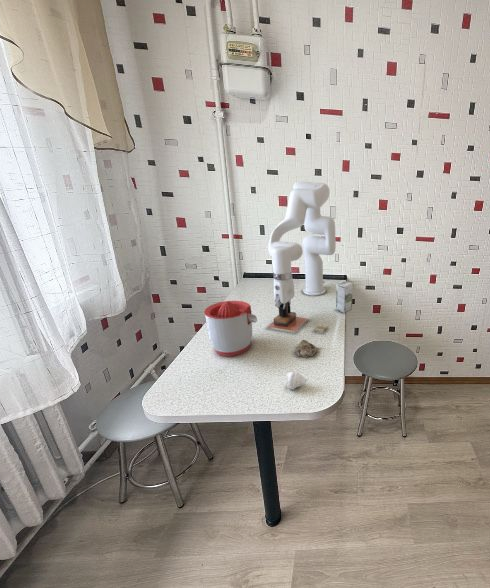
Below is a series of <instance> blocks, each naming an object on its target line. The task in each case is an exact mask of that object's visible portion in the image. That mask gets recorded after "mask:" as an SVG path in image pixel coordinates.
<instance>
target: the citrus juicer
mask: <svg viewBox="0 0 490 588" xmlns="http://www.w3.org/2000/svg"><path fill="white" fill-rule="evenodd" d="M203 314H204V316H205V321H206V328H207V332H208V333H207V334H208V339H209V342H210V343H211V345H212V349H213V350H214V351H215V352H216V354H217V355H219V356H223V357H234V356H235V357H236V356H239V355H242V354H244V353H245V352H247V351H249V348H250V346H251V344H252V339H253V323H257V322H258V318H257V316H256V315H255V314H253V313H252V306H251V305H250V303H248V302H246V301H243V300H224V301H220V302H216V303H213V304H211V305H208V306H207V307H206V308H205V309H204V311H203Z"/></svg>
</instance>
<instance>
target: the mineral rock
mask: <svg viewBox="0 0 490 588" xmlns="http://www.w3.org/2000/svg"><path fill="white" fill-rule="evenodd" d="M317 351H318V348H317V347H316V346H315V345H314V344H312V343H311V342H309V341H307V340H306V339H302V340H301V341H300V342H299V344H298V347H297V348H296V349H295V353H296V355H297V356H298V357H303V358H307V357H313V356H314V355H315V354H316V353H317Z"/></svg>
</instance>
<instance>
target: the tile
mask: <svg viewBox="0 0 490 588" xmlns="http://www.w3.org/2000/svg"><path fill="white" fill-rule="evenodd" d="M308 320H309V318H307V317H301V316H296V319H295V320H294V321H293V322H291V323H290V324H289V325H288V326H287V327H283V326H277V325H274V321H273V322H272V323H270V324H269V325H268V326H267V328H273V329H279V330H284V331H291V332H296V331H298V329H299V328H301V327H302V325H304V324H305V323H306V322H307V321H308Z"/></svg>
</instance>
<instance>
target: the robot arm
mask: <svg viewBox="0 0 490 588" xmlns="http://www.w3.org/2000/svg"><path fill="white" fill-rule="evenodd" d="M292 188H293V189H291V191H290V193H289V198H288V201H287V206H286V211H285V216H284V219H283V220H281V221H280V222H279V223H278V224H277V225H276V226H275V227H274V229H273V230H272V231H271V233H270V237H269V241H268V249H267V251H268V255H269V256H270V257H271V261H272V262H271V263H272V277H273V301H274V303H275V304H274V306H275V308H276V307H277V309H278V315H279V316H281V317H286V308H285V303H288V314H290V313H291V312H292V311H291V303H292V302H291V301H292V299H294V298H295V285H294V279H293V272H292V262H295V261H298V260H299V259H300V258H302V256H303V255H304V278H305V279H304V281H305V287H303V289H302V293H303V294H304V295H307V296H320V295H323V294H325V293H326V291H327V290H326V288H325V287H324V284H325V281H324V274H323V273H324V269H323V268H324V263H323V259H322V257H321V255H322V256H333V255H334V254H335V252H336V248H337V247H336V246H337V245H336V244H337V242H336V239H337V238H336V222H335V219H334V218H333V217H331V216H326V215H322V214H321V208H322V207H323V206H324V205H325V204H326V202H327V201H328V200H329V197H330V187H329V186H328V184H326V183H325V182H312V181H296V182H295V183H294V184H293V187H292ZM302 226H304V227H303V228H304V231H305V232H306V233H307V234H311V235H307V236H305V237H303V239H302V241H301V243H302V245H301V244H299V243H298V242H289V241H281V238H282V237H283V236H284V235H285V234H287V233H288V232H291V231H293V230H296V229H298V228H301V227H302ZM321 235H322V236H321ZM281 304H283V305H281Z"/></svg>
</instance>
